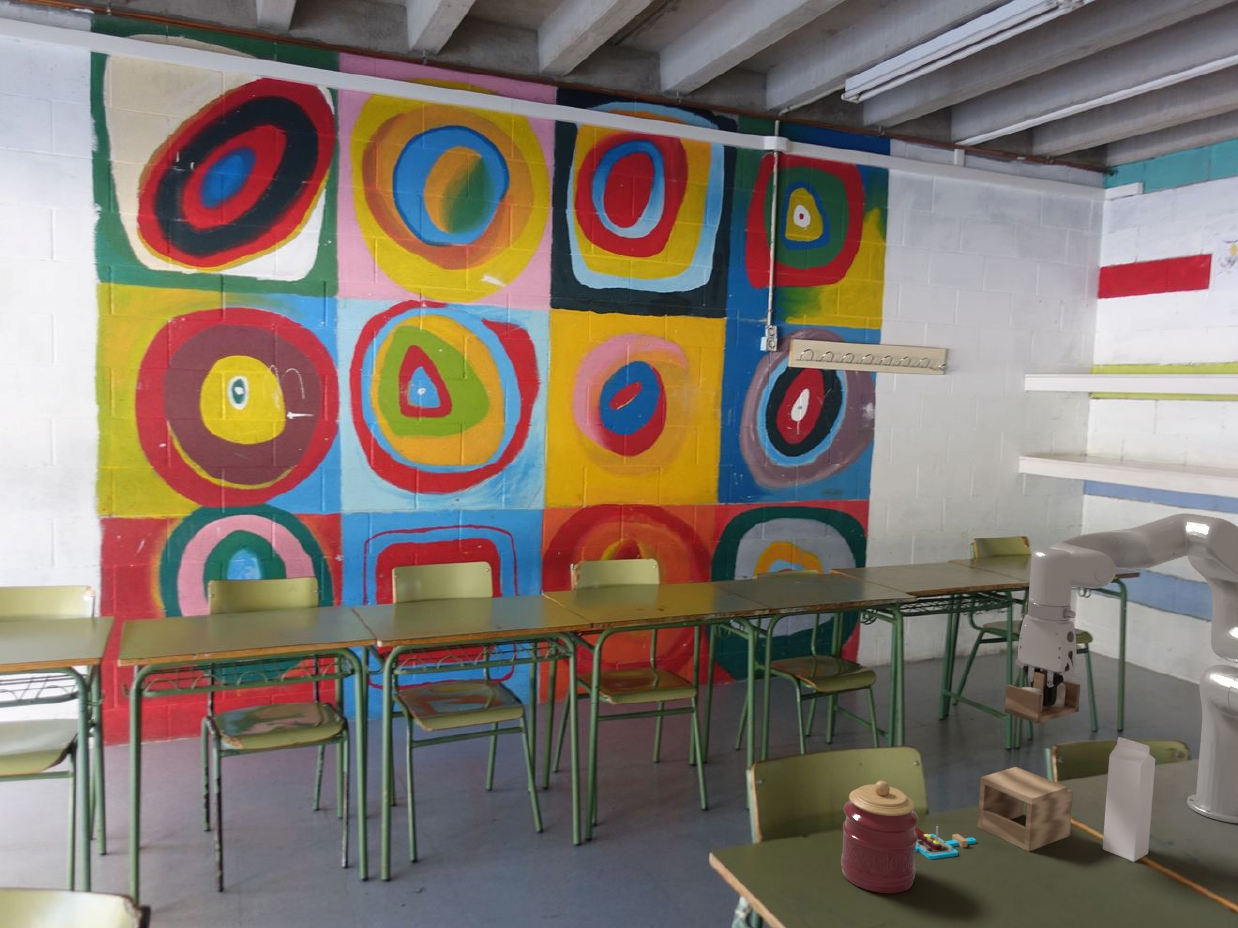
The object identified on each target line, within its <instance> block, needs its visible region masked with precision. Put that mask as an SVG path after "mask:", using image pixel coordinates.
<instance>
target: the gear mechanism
mask: <svg viewBox="0 0 1238 928" xmlns="http://www.w3.org/2000/svg"><path fill="white" fill-rule="evenodd" d="M935 828H936V829H935V834H933V833H925V832H923V831H922V830H921V829H920V828H918V827H915V832H916V834H917V842H916V852H915V853H918V852H919V853H921V855H923V856H925V857H926V858H927V859H929V860H937V859H943V858H950V857H957V856H958V854H959V851H958V850H957V849H956V848H954V847H960V848H962V849H963V848H967V847H968V845H973V844H977V842H978V841H977V839H976V838H974V837H973V836H972V837H967V838H964V837H963V836H962V835H960V834H959V833H955V834H951V840H944V839H942V838H941V837H939V826H938V825H937V826H936V827H935ZM931 851H932V852H931Z"/></svg>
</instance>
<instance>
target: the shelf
mask: <svg viewBox="0 0 1238 928" xmlns="http://www.w3.org/2000/svg"><path fill="white" fill-rule="evenodd" d="M979 786H980V787H979V802H978V805H979V806H978V817H977V828H978V829H980V830H982V831H984V832H986V833H989V834H991V835H993V836H995V837H998V838H999V839H1001V840H1003V841H1005V842H1008V843H1010V844H1012V845H1014V846H1016V847H1018V848H1021V849H1022V850H1025V851H1026V852H1032V851H1034V850H1036V849H1039V848H1042V847H1044V846H1047V845H1049V844H1053V843H1055V842H1057V841H1060V840H1063V839H1066V838H1069V837H1070V835H1071V822H1072V810H1073V809H1072V808H1073V798H1074V797H1073V795H1074V793H1073V792H1074V791H1073V790H1072V789H1069V788H1068V786H1065V785H1063V784H1061V783H1058V782H1056V781H1053V780H1050V779H1048V778H1045V777H1042V776H1041V775H1037V774H1035V773H1033V772H1030V771H1028V770H1025V769H1022V768H1020V767H1017V766H1014V767H1009V768H1007V769H1004V770H1001V771H997V772H994V773H993V772H992V773H991V774H990V773H989V774H987V775H983V776H981V777H980V785H979ZM1024 802H1025V803H1026V813H1025V814H1026V818H1025V825H1022V824H1020V823H1018V822H1016V821H1013V820H1012V819H1016V818H1019V817H1021V816H1024Z"/></svg>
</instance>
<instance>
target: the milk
mask: <svg viewBox="0 0 1238 928" xmlns="http://www.w3.org/2000/svg"><path fill="white" fill-rule="evenodd" d="M1150 750H1151V749H1150V746H1149V744H1148V745H1147V744H1144V743H1141V742H1137V741H1133V740H1130V739H1128V738H1124V737H1122V736H1121V737H1120V736H1118V737H1117V743H1116V745H1115V747H1114V748H1113V749H1112V751H1111V752H1110V754H1109V757H1108V759H1109V760H1108V770H1107V783H1106V785H1107V786H1106V799H1105V809H1104V811H1105V813H1104V823H1103V824H1104V826H1103V837H1102V850H1103V851H1106V852H1108V853H1111V854H1114V855H1116V856H1118V857H1121V858H1123V859H1126V860H1128V861H1131V862H1133V863H1134V862H1136V861H1138V860H1140V859H1141V858H1143V857H1145V856H1146V855H1148V854H1149V849H1150V848H1149V846H1150V832H1151V821H1152V806H1153V798H1154V797H1153V796H1154V795H1153V794H1154V780H1155V770H1156V769H1155V767H1156V758H1155V757H1154V756H1152V755H1151V754H1150Z"/></svg>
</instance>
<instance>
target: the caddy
mask: <svg viewBox="0 0 1238 928" xmlns="http://www.w3.org/2000/svg"><path fill="white" fill-rule="evenodd" d="M1047 673H1048V671H1047V670H1044V669H1042V671H1039V672H1034V685H1033V688H1031V687H1030V686H1023V687H1019V686H1017V685H1016V686H1015V685H1012V684H1006V685H1005V698H1004V699H1005V700H1004V701H1005V702H1004V713H1005V714H1007V715H1010V716H1014V717H1016V718H1020V719H1023V720H1026V721H1028V722H1033V723H1034V724H1041V723H1044V722H1048V721H1050V720H1053V719H1057V718H1060V717H1064V716H1067V715H1071V714H1075V713H1077V712H1079V709H1080V695H1081V693H1080V692H1081V684H1080V683H1076V682H1073V681H1071V680H1066V681H1064V682H1062V683H1061V684H1060V685H1058V686H1057V699H1056V702H1055V704H1054V705H1051V706H1047V707H1046V706H1044V705H1043V699H1044V687H1045V686H1047Z"/></svg>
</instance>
